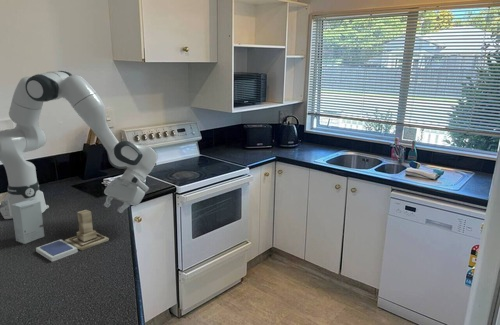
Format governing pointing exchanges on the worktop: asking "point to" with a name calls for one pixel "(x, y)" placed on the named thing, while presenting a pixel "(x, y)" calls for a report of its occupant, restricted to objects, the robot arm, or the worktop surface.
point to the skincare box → (27, 221)
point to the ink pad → (56, 250)
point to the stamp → (85, 227)
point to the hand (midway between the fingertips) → (112, 209)
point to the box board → (83, 246)
